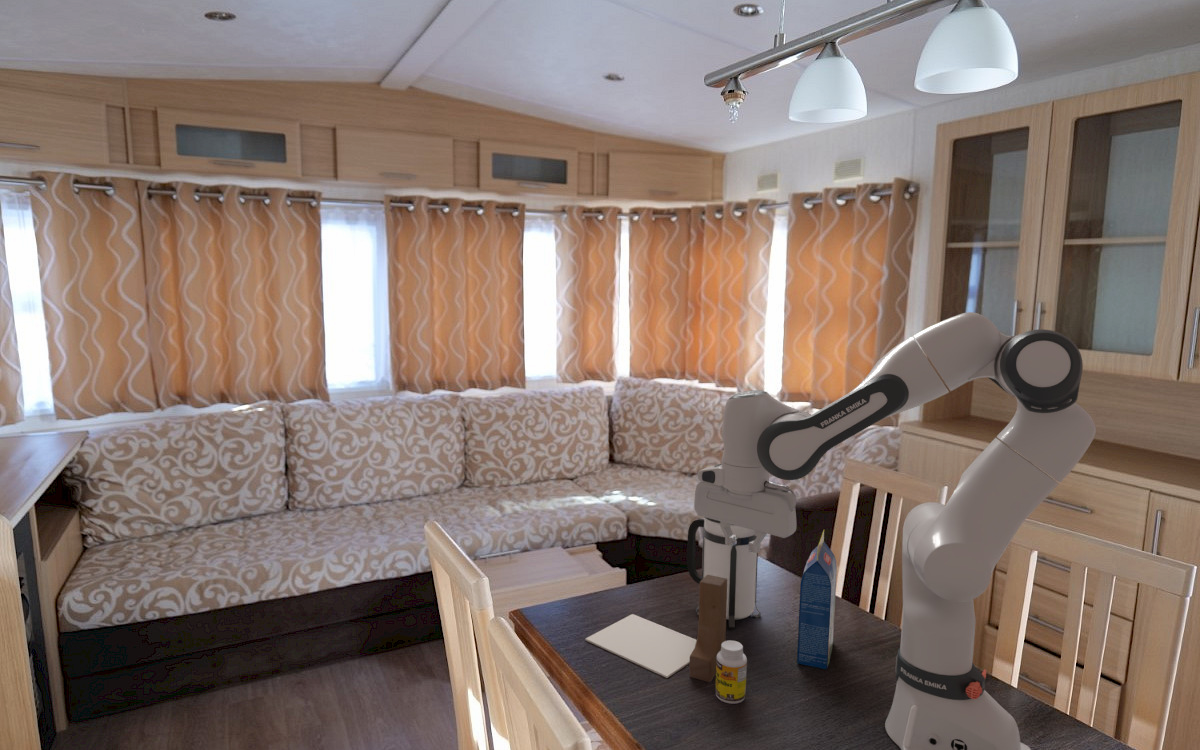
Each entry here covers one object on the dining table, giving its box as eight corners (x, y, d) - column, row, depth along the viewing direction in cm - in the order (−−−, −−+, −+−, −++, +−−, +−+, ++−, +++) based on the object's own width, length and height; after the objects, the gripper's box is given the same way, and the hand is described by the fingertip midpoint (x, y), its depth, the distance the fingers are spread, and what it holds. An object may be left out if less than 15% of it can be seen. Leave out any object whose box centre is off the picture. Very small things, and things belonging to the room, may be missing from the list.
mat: (712, 648, 152) (712, 646, 152) (667, 678, 140) (667, 676, 140) (632, 615, 166) (632, 613, 166) (585, 640, 154) (585, 638, 154)
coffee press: (757, 601, 174) (762, 482, 170) (763, 633, 158) (768, 501, 155) (686, 597, 176) (689, 478, 173) (684, 627, 161) (687, 498, 157)
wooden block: (710, 683, 138) (712, 594, 136) (688, 677, 140) (690, 589, 138) (725, 662, 146) (728, 578, 144) (704, 656, 148) (706, 573, 146)
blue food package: (795, 663, 146) (801, 545, 143) (803, 637, 157) (808, 527, 154) (828, 670, 143) (834, 550, 140) (833, 643, 154) (839, 531, 151)
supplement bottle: (709, 695, 134) (710, 643, 133) (729, 685, 138) (731, 634, 136) (731, 709, 130) (733, 656, 129) (751, 698, 133) (753, 646, 132)
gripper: (804, 484, 129) (801, 557, 130) (708, 464, 142) (707, 531, 144) (787, 491, 124) (784, 567, 126) (690, 470, 138) (688, 539, 139)
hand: (742, 548), depth 135 cm, fingers open, 4 cm apart
